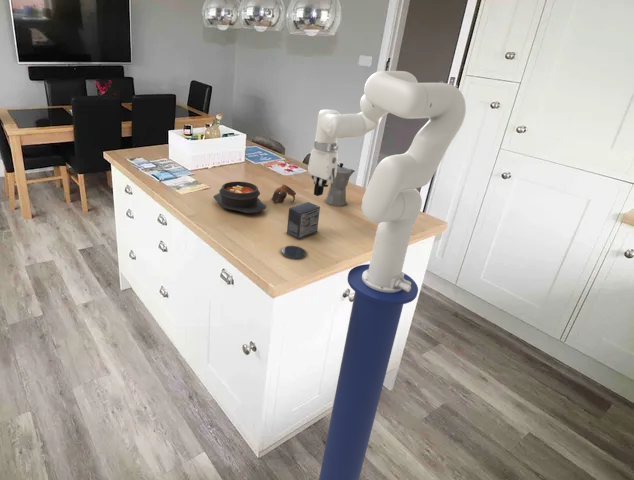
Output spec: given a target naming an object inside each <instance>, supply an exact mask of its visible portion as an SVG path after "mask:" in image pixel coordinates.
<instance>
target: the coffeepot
mask: <svg viewBox="0 0 634 480" xmlns="http://www.w3.org/2000/svg"><path fill="white" fill-rule="evenodd" d="M354 173H355V170H354V169H352V168H347V167H344V163H342V162H340V163H339V166H337V174H336V177H335V178H333V183H331V184H330V186H329V184H326V185H324V188H328V187H329V189H328V192H327V195H326V198H325V202H326V203H327V204H328V205H330V206H335V207H342V206H345V205H347V186H348V183H349V180H350V179H351V178H350V177H351V176H352V175H353V174H354Z"/></svg>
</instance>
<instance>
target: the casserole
mask: <svg viewBox="0 0 634 480" xmlns="http://www.w3.org/2000/svg"><path fill="white" fill-rule="evenodd" d="M260 195H261V192H260V190H259V187H258V185H256V184H254V183H251V182H247V181H229V182H226V183H223V184H222V186H221V188H220V189H219V192H218V193H216V194H215V195H213V197H212V198H213V199H214V200H215V201H216V203H217V204H218V205H219V206H220V207H222V208H223V209H227V210H229V211H230V210H231V211H235V212H241V213H245V214H254V213H255V214H256V213H259V212H262V211H264V210H266V208H267V205H266V204H264V203H263V202H262V200H261V199H260V198H259V196H260Z"/></svg>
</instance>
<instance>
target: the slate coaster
mask: <svg viewBox="0 0 634 480" xmlns="http://www.w3.org/2000/svg"><path fill="white" fill-rule="evenodd" d="M281 254H282V255H283V256H284V257H285V258H288V259H292V260H300V259H303V258H305V256H306V251H305V249H304V248H302V247H299V246H296V245H287V246H284V247H283V248H282V249H281Z"/></svg>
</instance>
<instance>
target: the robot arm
mask: <svg viewBox="0 0 634 480" xmlns="http://www.w3.org/2000/svg"><path fill="white" fill-rule="evenodd" d="M363 89H364V91H363V93H364V94H363V95H362V96H361V97H360V100H359V108H360V112H358V113H340V112H339V111H338V110H335V109H329V108H327V109H321V110H320V111H319V112H318V114H317V115H318V116H317V121H316V123H317V124H316V129H315V136H314V143H313V148H312V149H311V152H310V156H309V159H308V165H307V172H308V173H307V175H308V176H309V177H310V178H311V179H312V181H313V185H314V187H313V188H314V189H313V195H314V196H316V197H319V196H322V195H323V194H324V189H325V187H324V185H331V183H333V178H335V177H336V174H337V167H338V163H339V161H338V160H339V159H338V158H339V157H338V150H339V146H338V145H337V143H338V139H343V138H357V137H362V136H364V135H366V134H368V133H370V132H372V131H373V130H376V128H377V127H378V126H379V125H380V123H381V121H382V119H383V117H384V116H386V115H388V114H392V115H394V116H396V117H399V118H401V119H405V120H406V119H407V120H408V119H409V120H410V119H411V120H413V119H428V121H427V122H426V123H425V124H424V125H423V126H422V127H420V129H419V130H418V131H417V133H416V134H415V135H414V137H413V139H412V142H411V145H410V146H409V147H408V149H407V150H406V151H405V152H404V153H400V154H392V155H389V156H386V157H384V158H383V159H382V160H380V162H379V163H378V164H376V167H375V169H374V171H373V173H372V175H371V177H370V178H369V179H370V180H369V182H368V184H367V186H366V189H365V191H364V193H363V195H362V200H361V203H360V205H361V207H360V208H361V213H362V216H363V217H364V218H365V219H366V221H369V223H373V224H378V225H377V227H376V232H375V236H374V241H373V246H372V250H371V255H370V261H369V264H370V265H369V269H368V270H366V271H364V272H363V274H362V280H363V282H364V283H365V284H366V285H367V286H369V287H370V288H372V289H374V290H377V291H380V292H385V293H395V292H398V291H401V290H402V289H403V290H405V291H407V292H409V291H410V289H411V286H410V285H411V282H409V281H407V280H405V279H404V273H405V272H403V268H404V265H405V264H404V263H405V259H406V255H407V251H408V247H409V243H410V240H411V235H412V232H413V228H414V225H415V223H416V221H417V218H418V217H419V214H420V212H421V209H422V205H423V198H422V195H421V193H420V192H419V190H418V189H419V188H423V187H425V186H427V185H428V184H429V183H430V181H431V180H432V179H433V176H434V175H435V173H436V171H437V169H438V167H439V165H440V164H441V162H442V161H443V158H444V156H445V154H446V152H447V151H448V149H449V147H450V145H451V143H452V142H453V140H454V139H455V137H456V136H457V135H458V132H459V130H460V129H461V127H462V125H463V123H464V120H465V117H466V111H467V108H466V107H467V105H466V99H465V96H464V95H463V93H462V91H461V90H460V89H459V88H458V87H457V86H455V85H453V84H450V83H446V82H419V81H418V79H417V78H416V76H415V75H414V74H412V73H411V72H408V71H405V70H379V71H376V72H374V73H373V74H371V75H370V76H369V77H368V79H367V80H366V82H365V84H364V88H363ZM402 272H403V273H402Z"/></svg>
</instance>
